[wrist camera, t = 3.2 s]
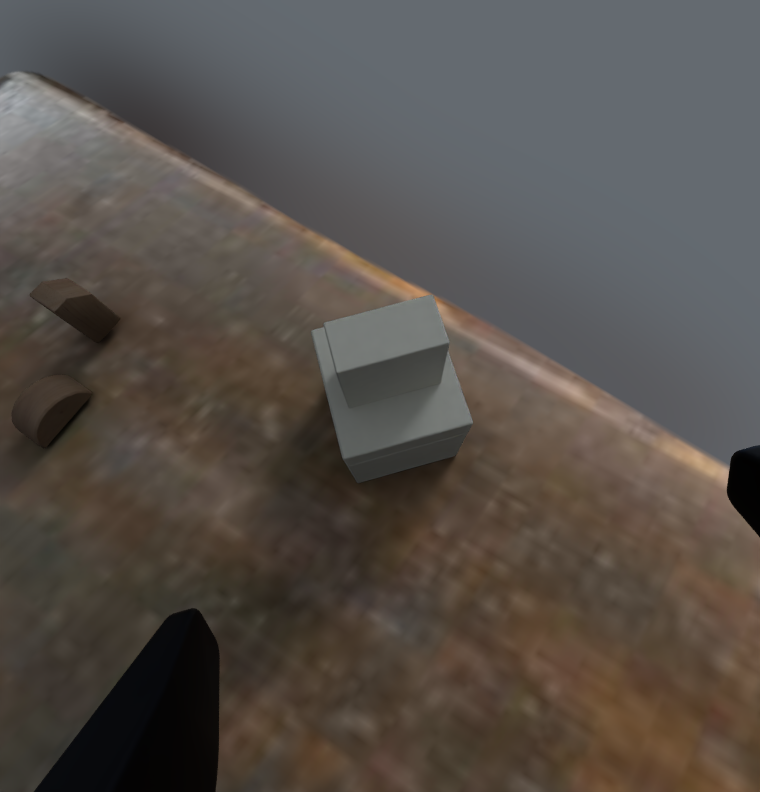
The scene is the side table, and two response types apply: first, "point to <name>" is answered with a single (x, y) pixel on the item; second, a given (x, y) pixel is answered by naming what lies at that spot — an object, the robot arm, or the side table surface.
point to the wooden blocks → (60, 394)
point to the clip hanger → (392, 388)
